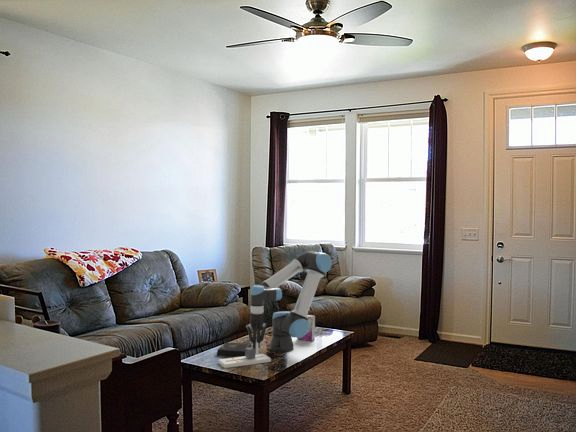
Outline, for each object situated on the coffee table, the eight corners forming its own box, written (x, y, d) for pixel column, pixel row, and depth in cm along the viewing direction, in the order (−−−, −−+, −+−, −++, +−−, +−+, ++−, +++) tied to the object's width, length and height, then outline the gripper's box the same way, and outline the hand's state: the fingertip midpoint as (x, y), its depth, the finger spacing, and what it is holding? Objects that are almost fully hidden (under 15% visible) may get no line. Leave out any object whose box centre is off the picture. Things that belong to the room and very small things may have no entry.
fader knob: (251, 355, 296) (251, 347, 296) (255, 358, 292) (255, 349, 292) (245, 356, 294) (245, 347, 294) (248, 358, 290) (248, 350, 290)
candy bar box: (296, 339, 345) (297, 315, 345) (300, 337, 349) (300, 313, 349) (311, 341, 340) (312, 316, 340) (315, 340, 344) (315, 315, 344)
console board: (263, 357, 302) (263, 353, 302) (270, 361, 294) (271, 357, 294) (218, 363, 289) (218, 359, 289) (224, 368, 281) (224, 364, 281)
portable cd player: (224, 348, 321) (224, 342, 320) (251, 350, 318) (251, 344, 318) (216, 356, 304) (216, 349, 304) (244, 358, 301) (244, 351, 301)
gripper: (264, 310, 301) (263, 351, 301) (243, 312, 295) (243, 353, 295) (270, 313, 294) (269, 354, 294) (249, 314, 288) (248, 356, 288)
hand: (256, 353), depth 295 cm, fingers closed
